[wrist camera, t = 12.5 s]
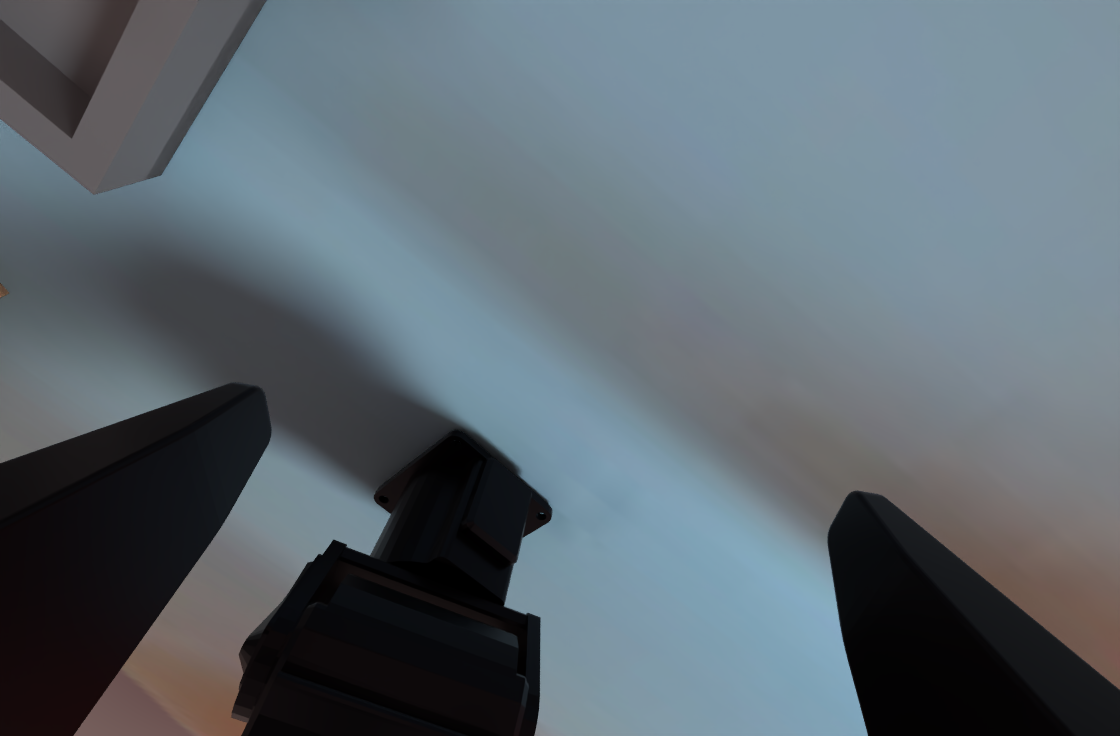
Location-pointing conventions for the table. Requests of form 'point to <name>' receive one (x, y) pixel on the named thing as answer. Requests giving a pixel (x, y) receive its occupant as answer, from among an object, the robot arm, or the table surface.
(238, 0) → the tray
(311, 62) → the table surface
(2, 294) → the alarm clock
